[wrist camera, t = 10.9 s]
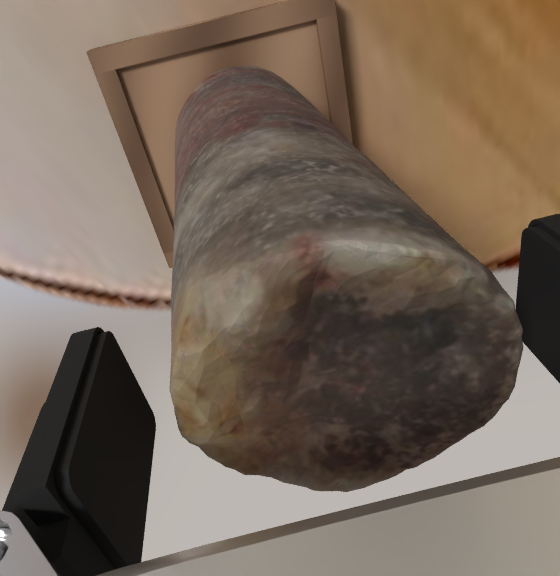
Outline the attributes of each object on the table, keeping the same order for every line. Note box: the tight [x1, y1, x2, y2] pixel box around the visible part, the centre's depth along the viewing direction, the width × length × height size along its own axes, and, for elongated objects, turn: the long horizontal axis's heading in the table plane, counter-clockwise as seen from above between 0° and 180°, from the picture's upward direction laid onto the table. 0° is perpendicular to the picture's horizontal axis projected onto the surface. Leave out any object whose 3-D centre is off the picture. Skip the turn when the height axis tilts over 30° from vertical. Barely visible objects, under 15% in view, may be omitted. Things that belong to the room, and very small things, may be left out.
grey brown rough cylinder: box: [170, 66, 523, 492], centre depth 18 cm, size 8×7×20 cm
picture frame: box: [87, 0, 353, 268], centre depth 27 cm, size 12×12×2 cm
